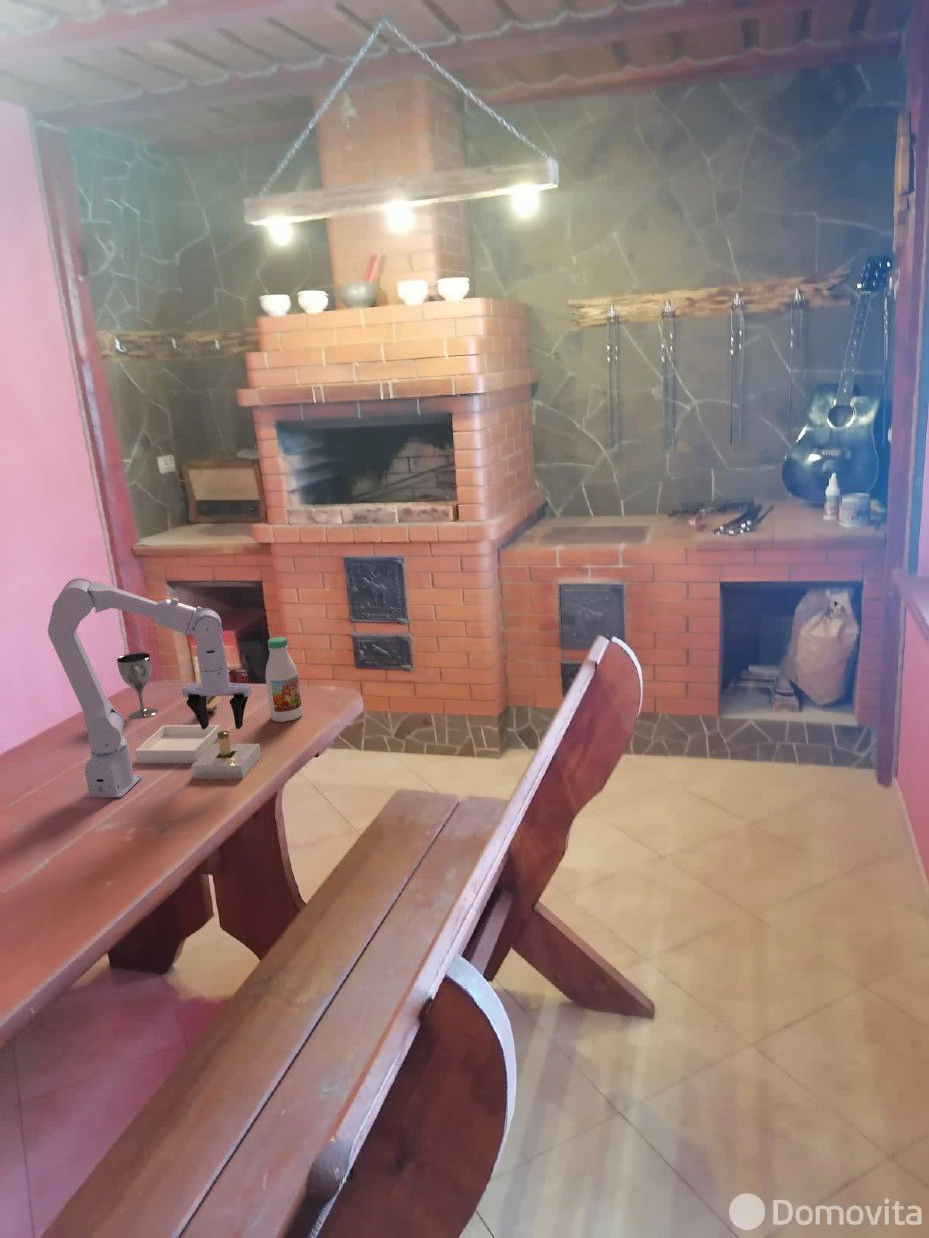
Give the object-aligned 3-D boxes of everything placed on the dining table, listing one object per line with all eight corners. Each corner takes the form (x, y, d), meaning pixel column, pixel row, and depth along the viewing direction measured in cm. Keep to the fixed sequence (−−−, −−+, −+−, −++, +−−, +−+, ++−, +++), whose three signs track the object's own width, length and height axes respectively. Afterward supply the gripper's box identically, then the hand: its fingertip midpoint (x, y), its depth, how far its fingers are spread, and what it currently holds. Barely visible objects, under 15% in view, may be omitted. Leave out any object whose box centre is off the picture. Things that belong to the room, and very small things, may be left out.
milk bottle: (265, 721, 218) (254, 643, 213) (280, 709, 225) (270, 633, 220) (293, 723, 216) (283, 644, 210) (308, 711, 223) (299, 634, 217)
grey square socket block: (243, 778, 189) (241, 765, 188) (193, 778, 190) (191, 765, 189) (261, 756, 199) (259, 743, 198) (213, 756, 201) (212, 743, 200)
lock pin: (231, 769, 193) (226, 735, 191) (220, 769, 194) (215, 735, 191) (235, 764, 196) (230, 730, 193) (224, 764, 196) (219, 730, 194)
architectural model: (223, 709, 229) (219, 682, 227) (214, 720, 222) (210, 692, 220) (210, 710, 229) (206, 682, 227) (201, 720, 223) (196, 692, 221)
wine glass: (164, 706, 232) (155, 651, 228) (151, 718, 225) (141, 662, 221) (135, 707, 233) (125, 652, 229) (121, 719, 226) (110, 663, 221)
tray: (196, 762, 198) (194, 750, 197) (137, 762, 200) (134, 750, 199) (221, 736, 211) (219, 724, 210) (165, 737, 213) (163, 725, 212)
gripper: (253, 660, 191) (261, 719, 195) (188, 661, 193) (197, 720, 197) (241, 671, 184) (249, 732, 188) (174, 672, 186) (184, 733, 190)
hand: (222, 727), depth 192 cm, fingers open, 7 cm apart
